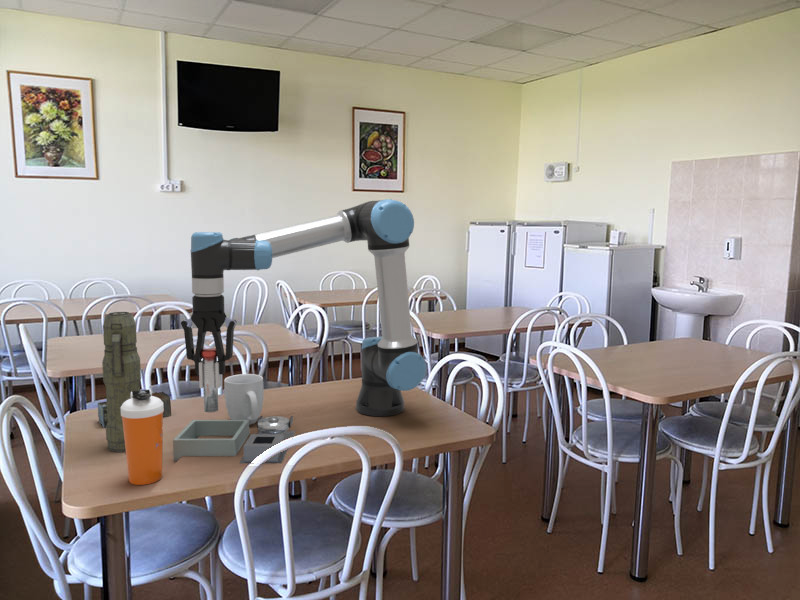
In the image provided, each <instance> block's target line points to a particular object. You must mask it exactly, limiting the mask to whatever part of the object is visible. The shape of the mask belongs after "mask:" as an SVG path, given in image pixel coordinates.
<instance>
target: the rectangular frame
mask: <svg viewBox="0 0 800 600" xmlns="http://www.w3.org/2000/svg"><path fill="white" fill-rule="evenodd" d="M205 436H206V437H209V436H210V437H214V436H215V437H219V436H220V437H222V436H225V437H226V436H227V437H232V438H199V437H205ZM249 437H250V425H249V420H231V419H192V420H191V421H190V422H189V423H187V425H186V426H185V427H184V428H183V429H181V431H180V432H179V433H178V434H177V435H176V436H175V438H173V440H172V449H173V450H172V454H173V462H174V463H178V461H179V460H180V459H181V458H182V457H236V456H237V455H238V453H239V451H240V450H241V448H242V446H244V445H245V443H246V442H247V440H248V438H249Z"/></svg>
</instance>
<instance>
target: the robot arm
mask: <svg viewBox="0 0 800 600" xmlns="http://www.w3.org/2000/svg"><path fill="white" fill-rule="evenodd" d="M414 229H415V219H414V216H413V213H412V211H411V209H410V208H409V207H408V206H407V205H406V204H405V203H403V202H401V200H400V201H399V200H397V199H396V200H395V199H391V198H390V199H389V198H388V199H386V198H385V199H382V200H370V201H366V202H363V203H361V204H358V205H356V206H353V207H349V208H347V209H346V208H345V209H343V210H339V211H337V214H336V215H331V216H328V217H324V218H323V217H322V218H319V219H315V220H310V221H305V222H302V223H297V224H294V225H293V224H292V225H289V226H285V227H281V228H276V229H273V230H268V231H264V232H260V233H256V234H252V235H247V236H243V237H235V238H231V239H228V240H226V239H224V238H223V237H224V236H223V233H222V232H217V231H211V232H210V231H198V232H193V233H192V234H191V236H190V237H191V238H190V240H191V241H190V264H191V292H192V294H193V296H192V298H191V299H192V314H191V316H190V318H187V319H183V320H182V321H180V325H181V327H182V329H183V334H184V343H185V344H184V345H185V353H186V359H187V360H189V361H193V362H194V372H195V375H198V377H199V378H198V381H199V382H198V384H199V389H204V383H203V358H202V357H201V350H203V349H205V347H204V346H205V341H206V335H207V332H209V333H211V336H212V337H213V341H214V342H213V343H214V346H215V348H216V352H217V362H216V363H215V376H216V388H218V389H220V387H222V386H223V384H222V383H223V381H222V380H223V379H222V375H224V374H225V373H226V361H229V360H230V359H232V358H233V353H234V352H233V351H234V336H235V335H234V333H235V328H236V326H237V324H238V323H237V320H236V319H230V318H228V317H227V314H226V312H225V296H224V295H223V294H224V292H225V290H224V289H225V287H224V286H225V280H224V279H225V278H224V271H261V270H268V269H270V268H271V267H272V265H273V259H274V258H278V257H282V256H287V255H291V254H294V253H298V252H302V251H306V250H311V249H314V248H318V247H319V248H320V247H323V246H326V245H331V244H335V243H339V242H345V243H347V244H349V243H351V242H352V243H353V242H359V241H366V243H367V250H368V252H370V254H372V255H373V258H374V267H375V269H374V270H375V277H376V286H377V287H376V288H377V295H378V296H377V298H378V309H379V317H380V320H379V321H380V330H381V336H372V337H366V338H364V339H362V342H361V349H360V350H361V386H360V389H359V392H358V396H357V399H356V403H355V404H356V407H355V409H356V411H357V412H358V413H359V414H362V415H366V416H370V417H386V416H387V417H388V416H394V415H398V414H401V413H402V412H404V411H405V400H404V397H403V394H402V391H403V392H404V391H411V390H413V389H415V388H416V387H418V386H419V385H420V383H421V382H422V381H423V380H424V378H425V375H426V373H427V363H426V361H425V359H424V357H423V355H421V354H420V353H419V342H418V339H417V338H415V336H413V335H412V323H411V313H410V302H409V301H410V300H409V290H408V280H407V279H408V278H407V276H408V275H407V268H406V267H407V266H406V265H407V264H406V256H405V255H406V254H405V253H406V252H407V250H408V249H409V248H410V237H411V234H413V233H414V232H413V231H414ZM224 323H225V327H226V333H225V335H226V336H225V338H226V339H225V348H224V343H223V338H222V330H221V327H222V326H223V325H224ZM193 325H194V326H195V327H196V328H197V334H196V335H197V337H196V346H195V345H194V335H193Z"/></svg>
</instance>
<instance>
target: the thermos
mask: <svg viewBox="0 0 800 600" xmlns="http://www.w3.org/2000/svg"><path fill="white" fill-rule="evenodd" d="M102 333H103V336H102V337H103V345H104V349H103V350H104V352H103V353H104V355H103V360H102V364H101V365H102V381H103V383H104V385H105V393H106V396H105V397H106V398H105V400H106V402H107V417H108V423H107V426H106V428H105V436H106V437H105V438H106V442H107V450H108V451H109V452H112V453H122V452H123V453H126V449H125V440H124V430H123V421H122V417H121V406H122V404H123V403H124V402H125V401H126V400H128V399H131V396H130V394H131V392H132V391H140V390H141V389H140V382H141V380H142V372H141V371H142V370H141V358H140V356H139V352H138V347H137V341H138V339H137V323H136V320H135V318H134V316H133V313H132V312H131V313H130V312H129V311H114V312H109V313H108V314H106V315H105V317H104V321H103V324H102Z"/></svg>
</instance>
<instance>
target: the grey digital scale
mask: <svg viewBox="0 0 800 600" xmlns="http://www.w3.org/2000/svg"><path fill="white" fill-rule="evenodd" d="M293 423H294V415H290V418H287V417H286V416H285V417H284V416H279V415H277V416H275V415H273V416H266V417H264V416H263V415H260V416H259V418H258V420H257V421H256V428H257V433H254V434H253V433H251V434H249V436H248V437H247V439H246V441H245V442H244V444H243V456H242V458H241V460H240V462H239V464H252V463H251V462H252V461H253V460H254V459H255V458H256V457H257V456H259V455H260V454H262V453H263V452H264V451H266V450H267V449H269V448H271V447H272V446H274V445H276V444H278V443H280V442H281V441H283V440H285V439H288V438H290V437H293V438H294V436H295V435H296V430H289V429H290V428H291V427H292V424H293ZM288 449H289V448H288ZM288 449H287V450H285V451H283V452H280V453H278V454H276V455H274V456H273V457H271V458H270V459H269V460H267V461H266V462H265V463H264V464H282V463H283V461H284V459H285V457H286V455H287V452H288Z"/></svg>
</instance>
